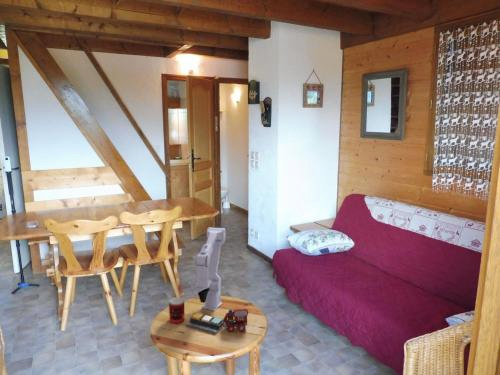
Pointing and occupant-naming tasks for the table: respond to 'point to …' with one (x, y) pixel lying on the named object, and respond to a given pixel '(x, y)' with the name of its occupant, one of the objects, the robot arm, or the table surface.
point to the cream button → (207, 318)
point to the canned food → (176, 310)
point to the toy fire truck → (236, 320)
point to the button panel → (205, 325)
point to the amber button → (197, 316)
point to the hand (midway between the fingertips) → (203, 302)
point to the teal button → (216, 321)
